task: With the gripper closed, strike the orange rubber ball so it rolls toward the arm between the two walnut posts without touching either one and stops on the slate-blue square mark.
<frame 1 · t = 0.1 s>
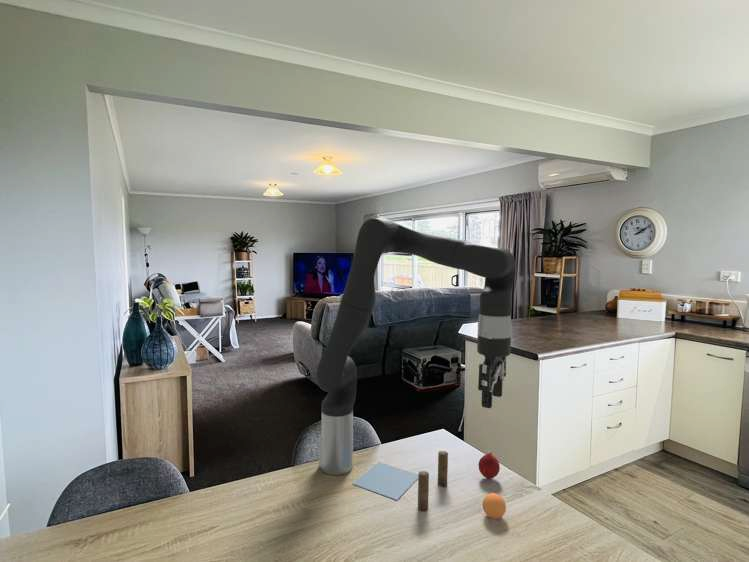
hand: (492, 401, 99), 29 cm above the table, tool pointing down, fingers open, 8 cm apart
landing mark: (387, 480, 118), on the table
post 2: (442, 484, 116), on the table
ball: (494, 505, 102), on the table
post 1: (422, 508, 106), on the table
onion: (488, 479, 119), on the table
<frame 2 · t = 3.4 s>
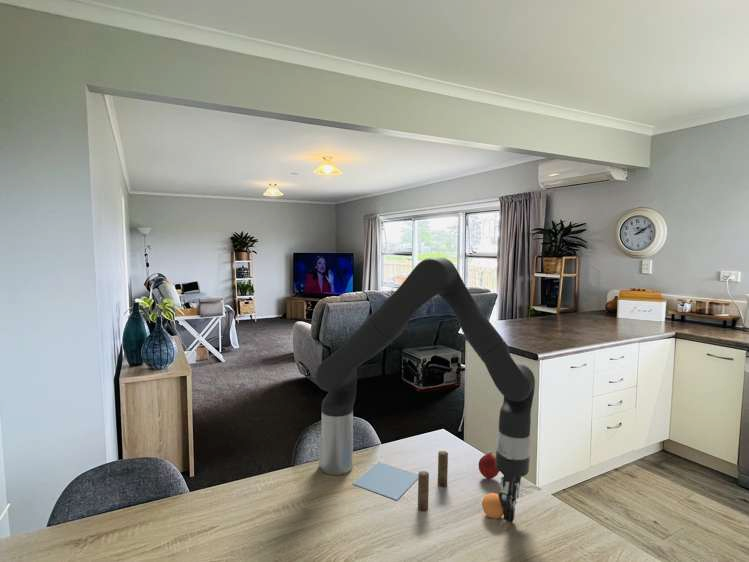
hand: (508, 519, 101), 1 cm above the table, tool pointing down, fingers closed
ball: (493, 505, 102), on the table, touching gripper
everything else where it was.
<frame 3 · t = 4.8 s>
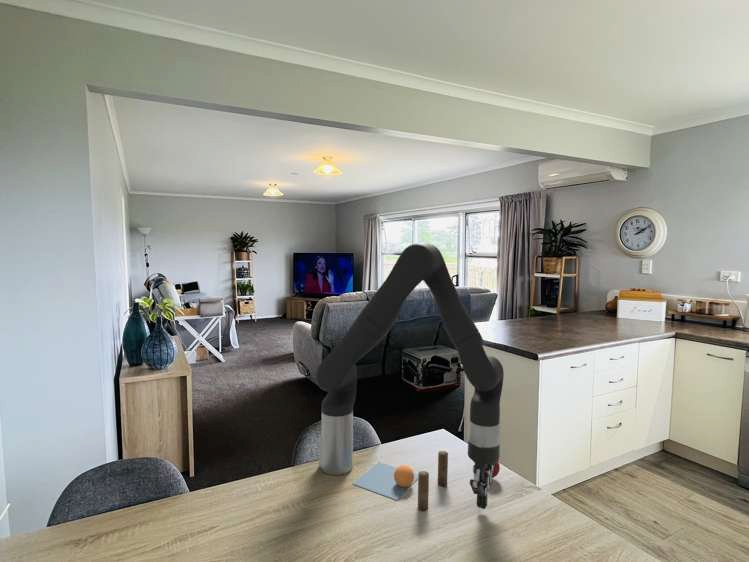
hand: (481, 506, 104), 2 cm above the table, tool pointing down, fingers closed
ball: (404, 476, 115), on the table
everything else where it was.
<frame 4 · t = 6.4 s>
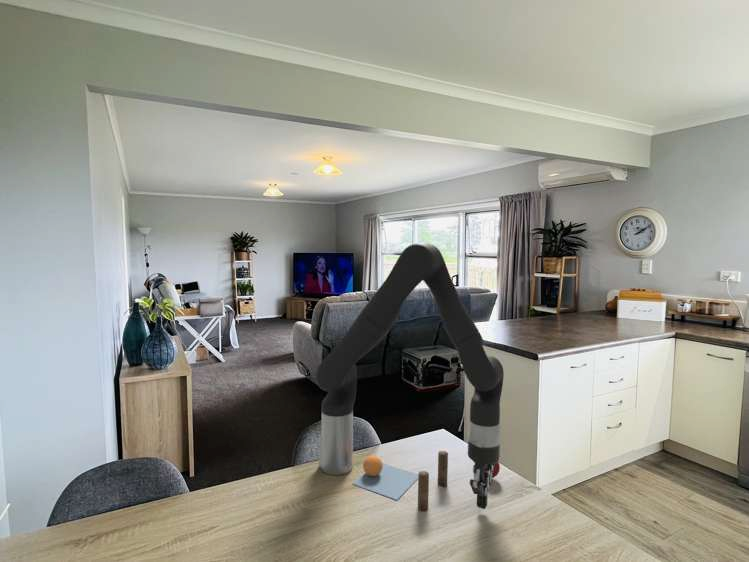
hand: (481, 506, 104), 2 cm above the table, tool pointing down, fingers closed
ball: (372, 465, 120), on the table
everything else where it was.
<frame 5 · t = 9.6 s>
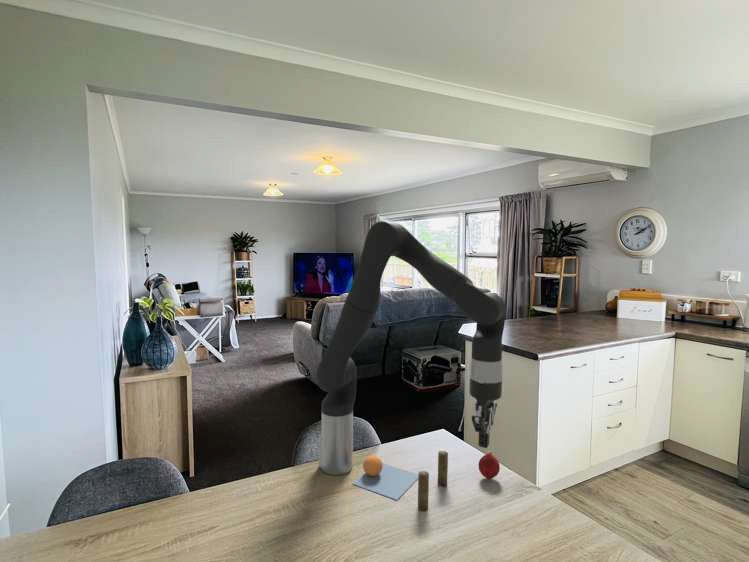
hand: (483, 446, 103), 17 cm above the table, tool pointing down, fingers closed
nothing on the table moved.
at the end: ball 4.8 cm from the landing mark (horizontally); ball never touched post 2; ball never touched post 1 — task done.
